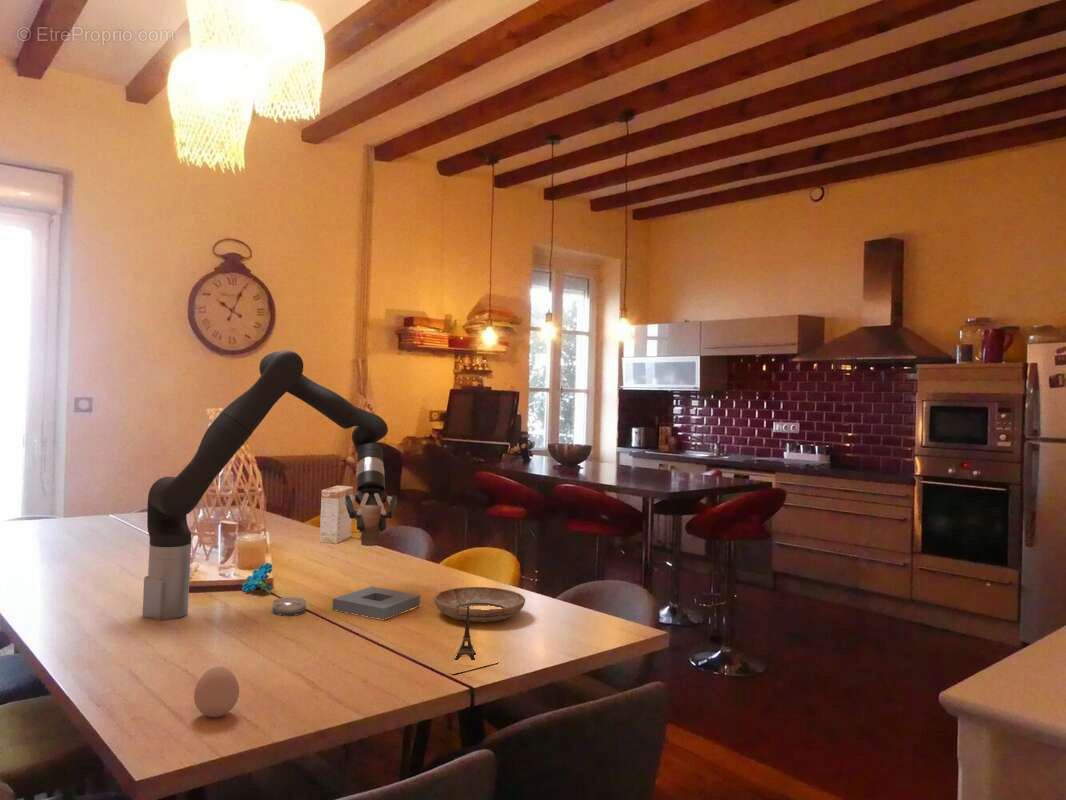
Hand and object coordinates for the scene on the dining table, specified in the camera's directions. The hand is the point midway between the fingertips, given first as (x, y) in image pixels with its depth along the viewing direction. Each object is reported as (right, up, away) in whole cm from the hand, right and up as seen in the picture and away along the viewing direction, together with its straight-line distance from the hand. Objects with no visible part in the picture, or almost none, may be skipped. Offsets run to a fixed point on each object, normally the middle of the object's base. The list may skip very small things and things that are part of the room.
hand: (371, 529), depth 205 cm
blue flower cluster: (-34, -19, +13) cm, 41 cm away
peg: (-1, -4, +2) cm, 5 cm away
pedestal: (-20, -20, -4) cm, 28 cm away
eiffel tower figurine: (+27, -23, -36) cm, 51 cm away
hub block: (+1, -21, +2) cm, 21 cm away
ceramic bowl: (+28, -23, 0) cm, 36 cm away
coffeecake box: (-32, -19, +92) cm, 100 cm away
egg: (-13, -21, -69) cm, 73 cm away
